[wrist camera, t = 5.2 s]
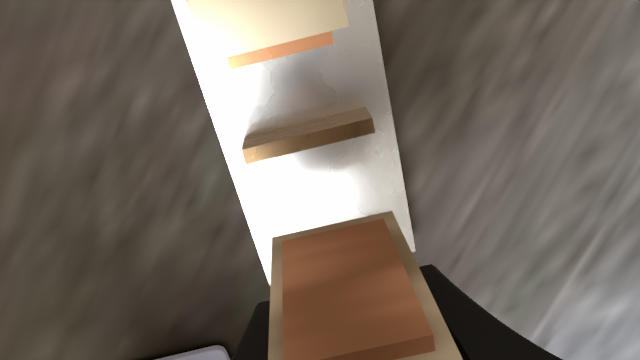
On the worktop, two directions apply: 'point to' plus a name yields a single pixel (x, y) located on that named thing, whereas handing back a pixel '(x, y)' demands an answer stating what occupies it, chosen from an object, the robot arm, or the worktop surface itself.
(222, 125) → the beige piece
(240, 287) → the worktop surface
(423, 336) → the block
